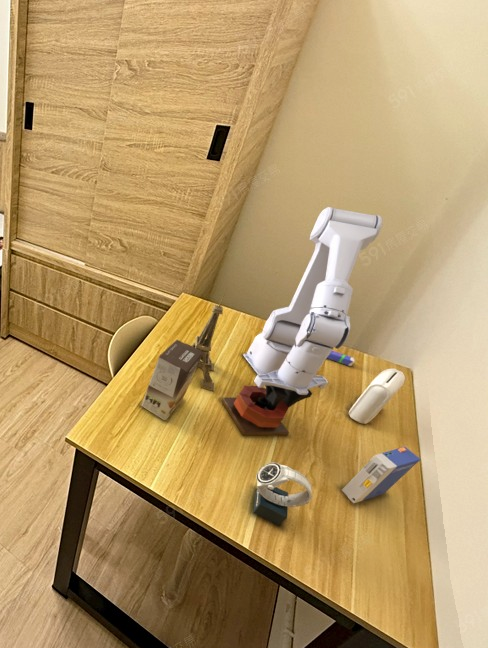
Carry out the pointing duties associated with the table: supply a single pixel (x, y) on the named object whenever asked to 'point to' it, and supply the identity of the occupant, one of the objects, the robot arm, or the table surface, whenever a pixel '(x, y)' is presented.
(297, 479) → the watch
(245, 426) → the post
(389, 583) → the table surface
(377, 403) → the white wireless mouse
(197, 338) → the eiffel tower
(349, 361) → the eraser
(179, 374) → the coffee box
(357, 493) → the walkman
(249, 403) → the ring
